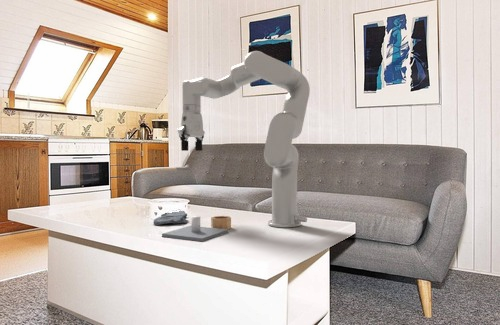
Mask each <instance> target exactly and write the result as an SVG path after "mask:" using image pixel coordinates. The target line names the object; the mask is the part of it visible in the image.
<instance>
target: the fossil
mask: <svg viewBox="0 0 500 325" xmlns="http://www.w3.org/2000/svg"><path fill="white" fill-rule="evenodd" d="M187 216H188V213H186V212H185V210H180V211H179V212H172V213H169V214H167V213H162V214H161V216H158V217H156V218H154V220H153V225H155V226H160V225H166V224H177V225H179V224H180V225H181V224H188V222H187V220H186V219H188V217H187Z"/></svg>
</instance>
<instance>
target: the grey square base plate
mask: <svg viewBox="0 0 500 325" xmlns="http://www.w3.org/2000/svg"><path fill="white" fill-rule="evenodd" d="M190 218H191V219H190V220H191V223H190V225H189V226H183V227H181V228H177V229H174V230H171V231H167V232H163V233H161V237H163V238H171V239H179V240H187V241H196V242H205V241H208V240H211V239H213V238H216V237H217V238H218V237H220V236H222V235H225V234H227V233H229V229H218V228H211V227H207V226H201V216H200V215H197V216H196V215H194V216H193V215H192V216H191V217H190Z"/></svg>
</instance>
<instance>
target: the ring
mask: <svg viewBox="0 0 500 325" xmlns="http://www.w3.org/2000/svg"><path fill="white" fill-rule="evenodd" d="M210 228H218V229H228V230H231V229H232V217H230V216H226V215H216V216H212V217H210Z"/></svg>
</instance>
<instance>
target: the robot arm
mask: <svg viewBox="0 0 500 325" xmlns="http://www.w3.org/2000/svg"><path fill="white" fill-rule="evenodd" d="M261 79H262V80H264V81H265V82H268V83H270V84H272V85H274V86H276V87H279V88H281V89H284V90H286V92H287V95H286V97H285V100H284V103H283V109H282V112H279V113H276V115H274V116H273V117H272V119H271V120H270V123H269V126H268V131H267V135H266V140H265V145H264V149H263V158H264V161H265V163H266V164H267V166H270V167H271V168H273V169H272V174H271V175H272V176H271V178H272V179H271V220H268V221H267V224H268V226H270V227H274V228H296V227H300V226H301V225H302V223H307V222H308V217H307V216H301V215H300V212H298V170H299V169H298V168H299V161H300V160H299V159H300V157H299V156H300V155H299V151H298V148H297V147H296V146H295V145H294V144H293V139H296V138H298V137H299V136H300V135H301V134H302V132H303V126H304V121H305V117H306V112H307V107H308V102H309V98H310V94H311V93H310V91H311V90H310V89H311V88H310V83H309V81H308V79H307V77H306V76H305V75H304V74H303V73H301V71H299V70H298V69H296V68H295V67H293V66H291V65H290V64H288V63H286V62H284V61H282V60H279V59H277V58H274V57H272V56H270V55H268V54H265V53H264V52H262V51H260V50H253V51H250V52H249V53H248V54H246V56H245V58H244V61H243V62H240V63H238V64H235V65H233V66H232V67H231V68H230V74H228V75H227V76H225V77H223V78H221V79H217V80H216V79H215V80H214V79H211V78H208V77H199V78H195V79H186V80H184V81H183V82H182V84H181V85H182V87H181V88H182V114H181V123H180V124H181V125H180V128H179V129H177V133H178V137H179V138H180V141H181V142H180V145H181V146H180V147H181V151H186V152H188V151H189V138H194V139H195V142H194V145H195V146H194V148H195V149H194V150H195V151H196V152H197V151H199V152H201V151H203V142H204V137H205V134H206V133H205V131H204V122H203V115H202V111H201V110H202V109H201V108H202V107H201V106H202V105H201V104H202V103H201V102H202V99H201V97H204V98H209V99H213V100H214V99H219V98H222V97H226V96H228V95H230V94H232V93H234V92H236V91H238V90H239V89H240V88H242V87H243V86H245V85H248V84H251V83H254V82H257V81H260V80H261Z"/></svg>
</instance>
